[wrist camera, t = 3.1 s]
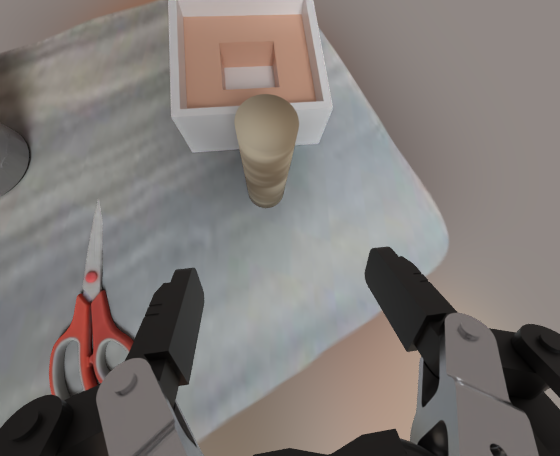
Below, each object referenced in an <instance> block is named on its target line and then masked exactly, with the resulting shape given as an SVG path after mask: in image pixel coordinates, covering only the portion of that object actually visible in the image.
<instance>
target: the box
mask: <svg viewBox="0 0 560 456" xmlns="http://www.w3.org/2000/svg"><path fill="white" fill-rule="evenodd" d="M168 14H169V53H170V91H171V118H172V120H173V121H174V123H175V124H176V126H177V128H178V129H179V131H180V133H181V134H182V136H183V138H184V139H185V141H186V143H187V144H188V146H189V147H190V149H191V151H192V152H193V153H195V152H209V151H223V150H237V149H239V144H238V139H237V135H236V130H235V124H234V120H235V114H236V112H237V110H238V108H239V106H240V105H241V104H242V103H243V102H244V101H245V100H247V99H248V98H250V97H253V96H256V95H260V94H271V95H276V96H279V97H281V98H283V99H285V100H286V101H288V102H289V103H290V104H291V105H292V106H293V108H294V109H295V111H296V112H297V115H298V118H299V129H298V134H297V138H296V142H295V145H307V144H319V141H320V139H321V136H322V134H323V132H324V129H325V127H326V124H327V122H328V119H329V117H330V114H331V112H332V109H333V104H332V99H331V94H330V88H329V83H328V78H327V72H326V67H325V61H324V56H323V51H322V45H321V40H320V34H319V29H318V24H317V18H316V13H315V8H314V2H313V0H168Z"/></svg>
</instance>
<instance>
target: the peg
mask: <svg viewBox="0 0 560 456" xmlns="http://www.w3.org/2000/svg"><path fill="white" fill-rule="evenodd" d="M234 124H235V130H236V135H237V139H238V144H239V149H240V154H241V159H242V164H243V168H244V173H245V178H246V183H247V188H248V193H249V197H250V199H251V200H252V202H253V203H254V204H255V205H257V206H259V207H262V208H271V207H273V206H275V205H277V204H278V203H279V202H280V201H281V199H282V197H283V193H284V189H285V185H286V181H287V176H288V172H289V168H290V163H291V159H292V155H293V151H294V146H295V142H296V138H297V134H298V129H299V118H298V115H297V112H296V111H295V109H294V108H293V106H292V105H291V104H290V103H289V102H288V101H286V100H285V99H283V98H281V97H279V96H276V95H271V94H260V95H256V96H253V97H250V98H248V99H247V100H245V101H244V102H243V103H242V104H241V105H240V106H239V108H238V110H237V112H236V114H235V120H234Z"/></svg>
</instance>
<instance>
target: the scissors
mask: <svg viewBox="0 0 560 456" xmlns="http://www.w3.org/2000/svg"><path fill="white" fill-rule="evenodd" d="M102 271H103V221H102V214H101V208H100V202H99V199H98V202H97V206H96V210H95V214H94V219H93V224H92V229H91V235H90V240H89V246H88V252H87V259H86V266H85V273H84V279H83V289H84V292H83V294H79V295H78V296H77V299H76V305H75V311H74V316H73V320H72V322H71V325H70V326H69V328H68V329H67V331H66V332H65V333H64V334H63V335H62V336H61V337H60V338H59V339H58V340H57V341H56V343H55V345H54V347H53V349H52V353H51V358H50V366H49V380H50V388H51V393H52V395H56V396H58V397H59V398H61V399H62V400H66V399H68V398H70V395H69V392H68V390H67V387H66V383H65V376H64V356H65V350H66V347H67V345H68V344H69V343H70V342H71V341H73V340H75V341H77V342H78V362H79V373H80V379H81V383H82V387H83V390H84V391H86V390H88V389H90V388H92V387H94V386H96V385H98V384H97V381H96V378H95V375H96V377H97V379H98V381H99V382H100V383H102V381H103V380H104V378H105V377H106V376H107V375H108V374H109V373H110V371H109V370H108V367H107V365H106V360H105V352H106V347H107V344H108V343H109V342H110V341H114V342H116V343H118V344H119V345H121V346H122V347H123V348H124V349H125V350H126V351H127V353H129V351H130V349H131V346H132V344H133V342H134V341H133V340H132V339H131V338H130V337H129V336H128V335H126V334H125V333H123V332H122V331H120V330H119V329H118V328H117V327H116V325H115V324H114V322H113V320H112V317H111V313H110V309H109V305H108V300H107V296H106V291H105V290H102ZM92 300H93V301H92ZM92 327H93V354H92ZM93 366H94V370H93ZM94 371H95V374H94Z"/></svg>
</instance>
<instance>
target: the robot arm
mask: <svg viewBox="0 0 560 456" xmlns="http://www.w3.org/2000/svg"><path fill="white" fill-rule="evenodd" d="M28 161H29V150H28V147H27V144H26V142H25V140H24V139H23V137H22V136H21V135H20V134H18V133H17V132H16V131H14V130H12V129H11V128H9V127H7V126H5V125H4V124H2V123H0V196H2V195H3V194H5V193H6V192H8V191H9V190H11V189H12V188H13V187H14V186H15V185H16V184H17V183H18V182H19V180H20V179H21V178H22V176H23V175H24V173H25V171H26V169H27V166H28ZM365 280H366V283H367V285H368V287H369V289H370V290H371V292H372V294H373V295H374V297H375V299H376V300H377V302H378V304H379V305H380V307H381V309H382V311H383V312H384V314H385V315H386V317H387V319H388V321H389V322H390V324H391V326H392V327H393V329H394V331H395V332H396V334H397V336H398V338H399V339H400V341H401V343H402V344H403V346H404V348H405V350H406V351H407V352H410V351H416V350H418V351H419V353H420V354H421V358H420V364H419V380H418V396H417V410H416V415H415V418H414V421H413V424H412V429H411V435H410V436H411V437H410V441H407V440H403V439H400V438H399V436H398V433H397V431H396V429H391V430H386V431H381V432H375V433H370V434H364V435H361V436H360V437H358V438H356V439H355V440H353V441H352V442H350V443H348V444H347V445H345V446H343V447H342V448H341V449H339V450H337V451H335V452H334V453H332V454H329V455H325V454H320V453H314V452H308V451H303V450H297V449H292V448H288V449H282V450H277V451H271V452H266V453H261V454H255V455H253V456H560V409H559V408H558V407H557V406H556V405H555V404H554V403H553V402H552V400H551V399H550V398H549V397H548V396H547V395H546V394H545V393H544V391H546V390H547V389H549V388H551V389H552V390H553V391H554V392H555V393H556V394H557V395H558V397H559V398H560V334H558V333H557V332H555V331H553V330H551V329H548V328H546V327H543V326H539V325H535V324H527V325H524V326H522V327H521V328H520V329H519V330H518V331H517V332H516V333H515V332H509V331H502V330H496V329H490V328H487V326H486V325H484V324H483V323H482V322H480V321H479V320H477V319H475V318H473V317H471V316H469V315H466V314H462V313H457V311H456V310H455V309H454V308H453V307H452V306H451V305H450V304H449V303H448V301H447V300H446V299H445V298H444V297H443V296H442V295H441V294H440V293H439V292H438V290H436V288H435V287H434V286H433V285H432V284H431V283H430V282H428V279H427V278H426V277H425V276H424V275H423V274H421V272H420V271H419V269H418V268H417V267H416V266H415V265H414V264H413V263H411V262H410V261H408V260H407V259H405V258H404V257H402V256H400V257H398V255H397V254H396V253H395V252H394V251H393V250H392V249H391V248H390V247H380V248H372V249H371V250H370V253H369V257H368V261H367V265H366V269H365ZM203 307H204V292H203V289H202V286H201V283H200V280H199V277H198V274H197V271H196V269H195V268H186V269H177V270H175V272H174V274H173V277H172V280H171V282H170V283H163V285H162V286H161V287H160V288H159V289H158V290H157V291H156V292H155V293H154V295H153V298H152V300H151V302H150V305H149V307H148V309H147V312H146V314H145V317H144V319H143V321H142V323H141V326H140V328H139V330H138V332H137V335H136V337H135V339H134V342H133V344H132V346H131V349H130V351H129V353H128V356H127V358H126V359H125V361H124V362H122V363H121V364H119V365H118V366H116V367H115V368H114V369H113V370H112V371H111V372H110V373H109V374H108V375H107V376H106V377H105V378H104V380H103V381H102V383H100V384H98V385H96V386H94V387H92V388H90V389H88V390H86V391H83V392H81V393H79V394H77V395H74V396H72V397H70V398H68V399H66V400H62V399H61V398H59V397H58V396H56V395H45V396H42V397H39V398H37V399H35V400H33V401H31V402H29V403H28V404H26V405H24V406H23V407H22V408H20V409H19V410H18V411H17V412H16V413H14V414H13V415H12V416H11V417H10V418H9V419H8V420H7V421H6V422H5V423H4V425H3V426H2V427H1V428H0V456H204V455H203V453H202V452H201V450H200V448H199V446H198V444H197V442H196V440H195V438H194V436H193V434H192V432H191V430H190V428H189V426H188V423H187V421H186V419H185V417H184V415H183V413H182V411H181V409H180V407H179V405H178V403H177V401H176V395H177V391H178V386H182V385H188V384H189V380H190V375H191V370H192V365H193V359H194V354H195V349H196V343H197V338H198V333H199V328H200V322H201V317H202V312H203Z"/></svg>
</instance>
